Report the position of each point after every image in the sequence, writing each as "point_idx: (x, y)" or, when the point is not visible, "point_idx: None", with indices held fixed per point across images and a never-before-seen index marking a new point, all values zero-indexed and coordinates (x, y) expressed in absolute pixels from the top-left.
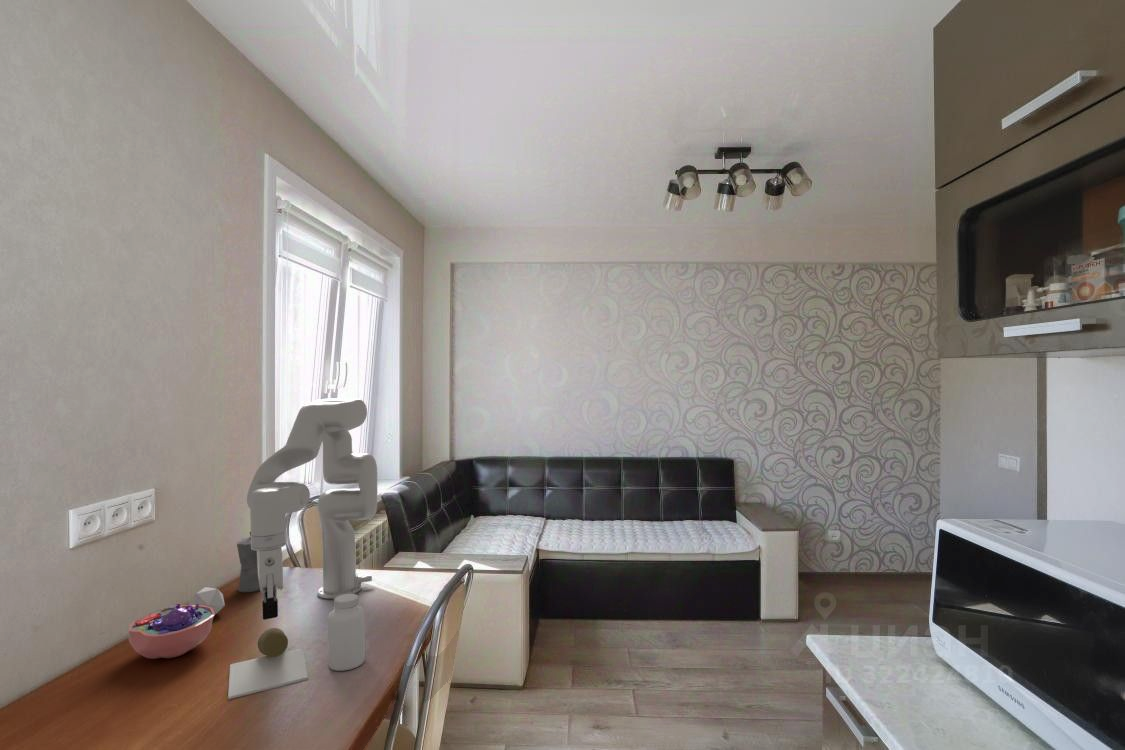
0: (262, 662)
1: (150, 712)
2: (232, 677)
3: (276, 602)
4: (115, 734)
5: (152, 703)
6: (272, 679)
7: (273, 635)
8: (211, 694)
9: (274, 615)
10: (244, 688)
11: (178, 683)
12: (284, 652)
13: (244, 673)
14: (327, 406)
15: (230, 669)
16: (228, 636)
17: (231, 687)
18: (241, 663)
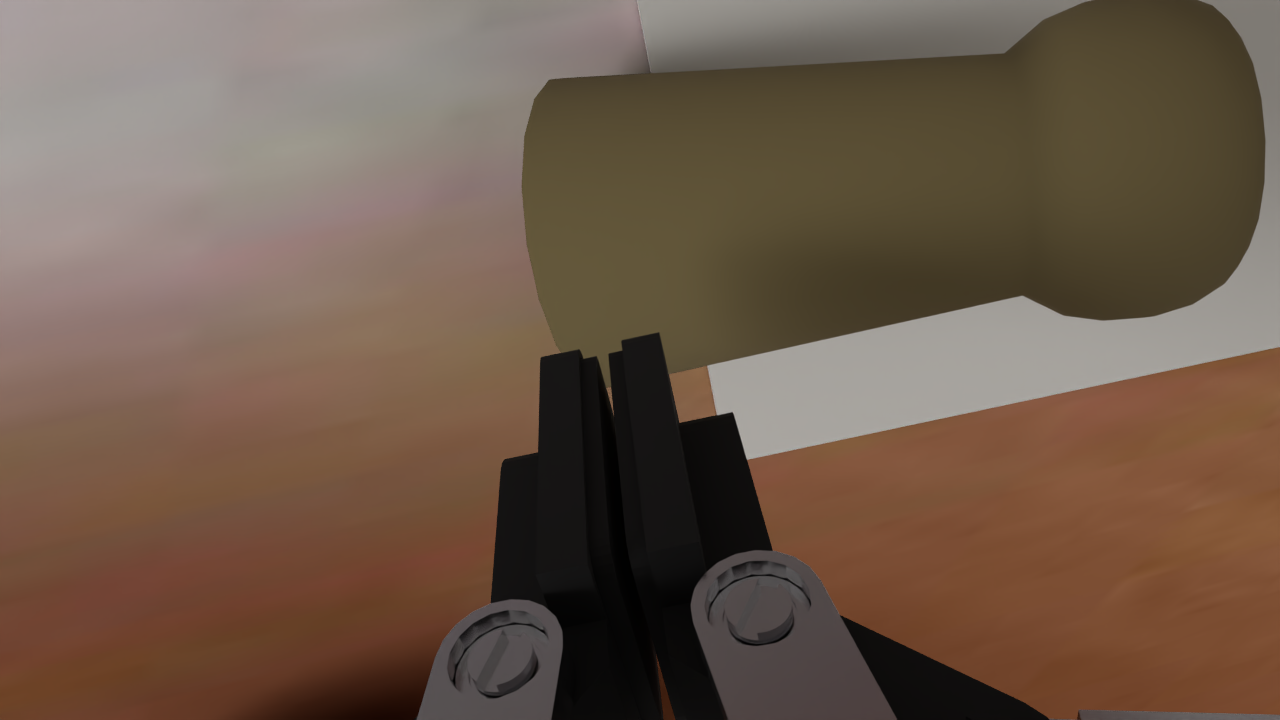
0: None
1: (1138, 655)
2: (990, 390)
3: (693, 523)
4: (1265, 702)
5: (1031, 678)
6: (1267, 53)
7: (1251, 234)
8: (1134, 446)
9: (671, 388)
10: (1264, 258)
11: None
12: (660, 48)
13: (970, 323)
14: None
15: (829, 438)
16: (89, 608)
17: (1174, 354)
18: (750, 390)
